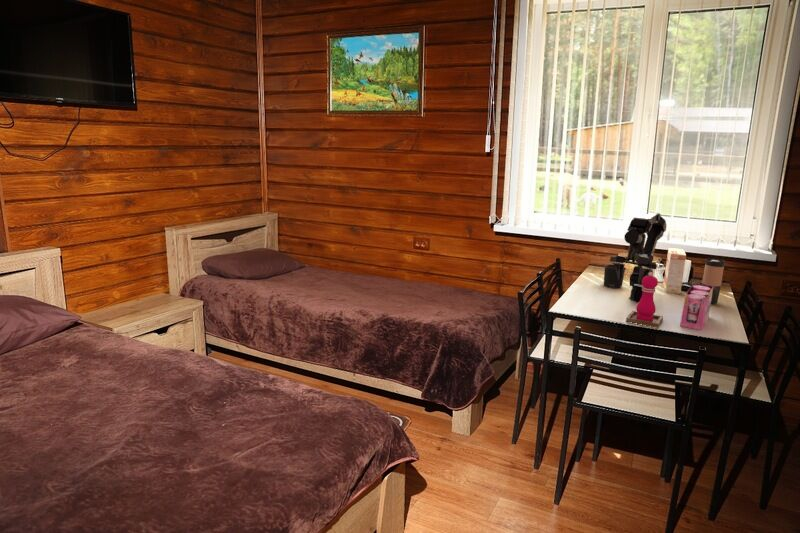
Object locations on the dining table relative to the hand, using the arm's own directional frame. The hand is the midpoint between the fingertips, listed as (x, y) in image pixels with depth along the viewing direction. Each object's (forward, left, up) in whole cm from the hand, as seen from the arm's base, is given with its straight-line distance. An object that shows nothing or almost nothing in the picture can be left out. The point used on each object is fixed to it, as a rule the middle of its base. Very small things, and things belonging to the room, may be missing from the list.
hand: (629, 282), depth 240 cm
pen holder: (-16, -36, -12) cm, 41 cm away
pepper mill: (+2, +16, -12) cm, 20 cm away
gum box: (-19, +19, -12) cm, 30 cm away
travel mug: (-46, -5, -12) cm, 48 cm away
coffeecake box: (-43, -27, -12) cm, 53 cm away
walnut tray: (+3, +16, -12) cm, 21 cm away
